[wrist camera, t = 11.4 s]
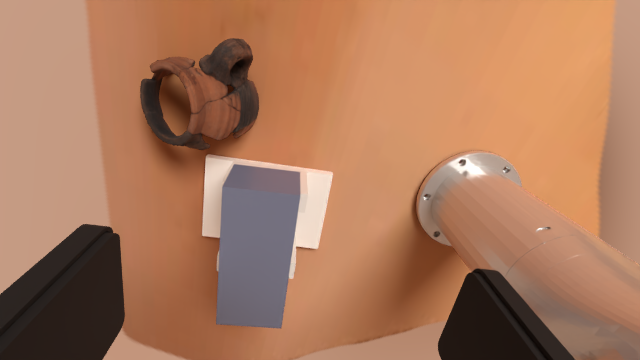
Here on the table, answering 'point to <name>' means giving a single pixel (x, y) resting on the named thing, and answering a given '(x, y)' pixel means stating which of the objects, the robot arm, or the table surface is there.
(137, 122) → the table surface
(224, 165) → the display stand
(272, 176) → the blue-grey rectangular block
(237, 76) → the pottery mug
